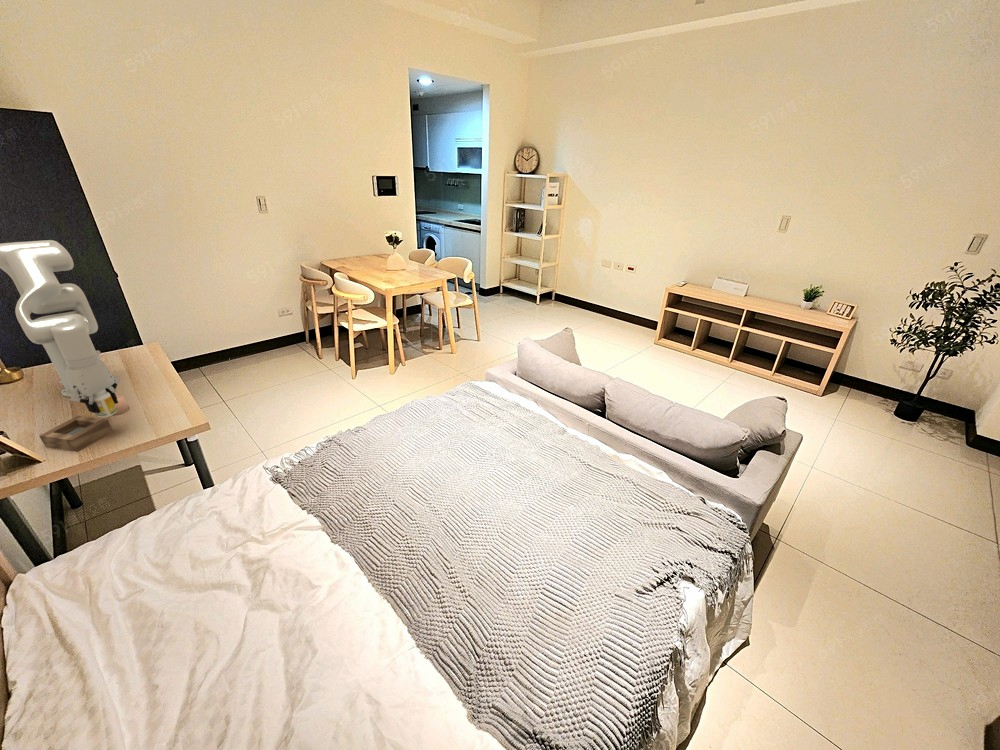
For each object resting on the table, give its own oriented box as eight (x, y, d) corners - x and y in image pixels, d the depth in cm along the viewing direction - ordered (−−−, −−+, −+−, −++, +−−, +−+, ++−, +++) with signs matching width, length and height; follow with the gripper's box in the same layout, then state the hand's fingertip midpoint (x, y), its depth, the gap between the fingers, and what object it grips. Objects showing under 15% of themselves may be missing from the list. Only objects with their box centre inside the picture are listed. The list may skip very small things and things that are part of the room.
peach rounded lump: (104, 414, 154) (99, 402, 152) (120, 405, 159) (115, 394, 157) (118, 416, 153) (113, 404, 151) (133, 407, 158) (129, 396, 156)
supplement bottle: (99, 419, 137) (87, 395, 132) (95, 413, 140) (83, 389, 135) (119, 413, 141) (108, 389, 136) (115, 407, 144) (104, 383, 139)
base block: (45, 447, 136) (38, 435, 134) (83, 427, 147) (77, 415, 144) (78, 452, 135) (71, 440, 133) (113, 431, 146) (107, 419, 143)
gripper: (100, 347, 138) (119, 393, 147) (41, 370, 123) (67, 419, 132) (119, 350, 137) (138, 396, 146) (63, 374, 123) (87, 423, 131)
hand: (104, 407), depth 139 cm, fingers closed on supplement bottle, 5 cm apart
